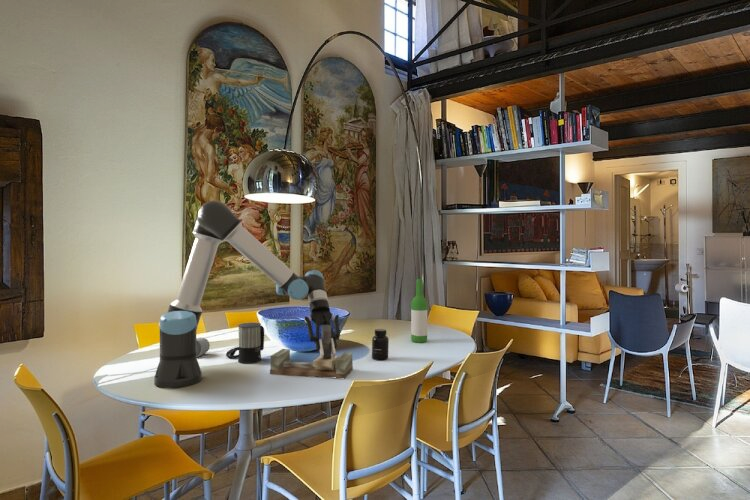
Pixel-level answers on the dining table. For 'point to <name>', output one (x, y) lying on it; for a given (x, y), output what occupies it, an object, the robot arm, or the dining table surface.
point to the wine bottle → (419, 315)
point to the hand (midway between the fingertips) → (328, 355)
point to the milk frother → (249, 343)
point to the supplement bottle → (380, 345)
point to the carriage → (325, 351)
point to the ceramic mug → (201, 346)
